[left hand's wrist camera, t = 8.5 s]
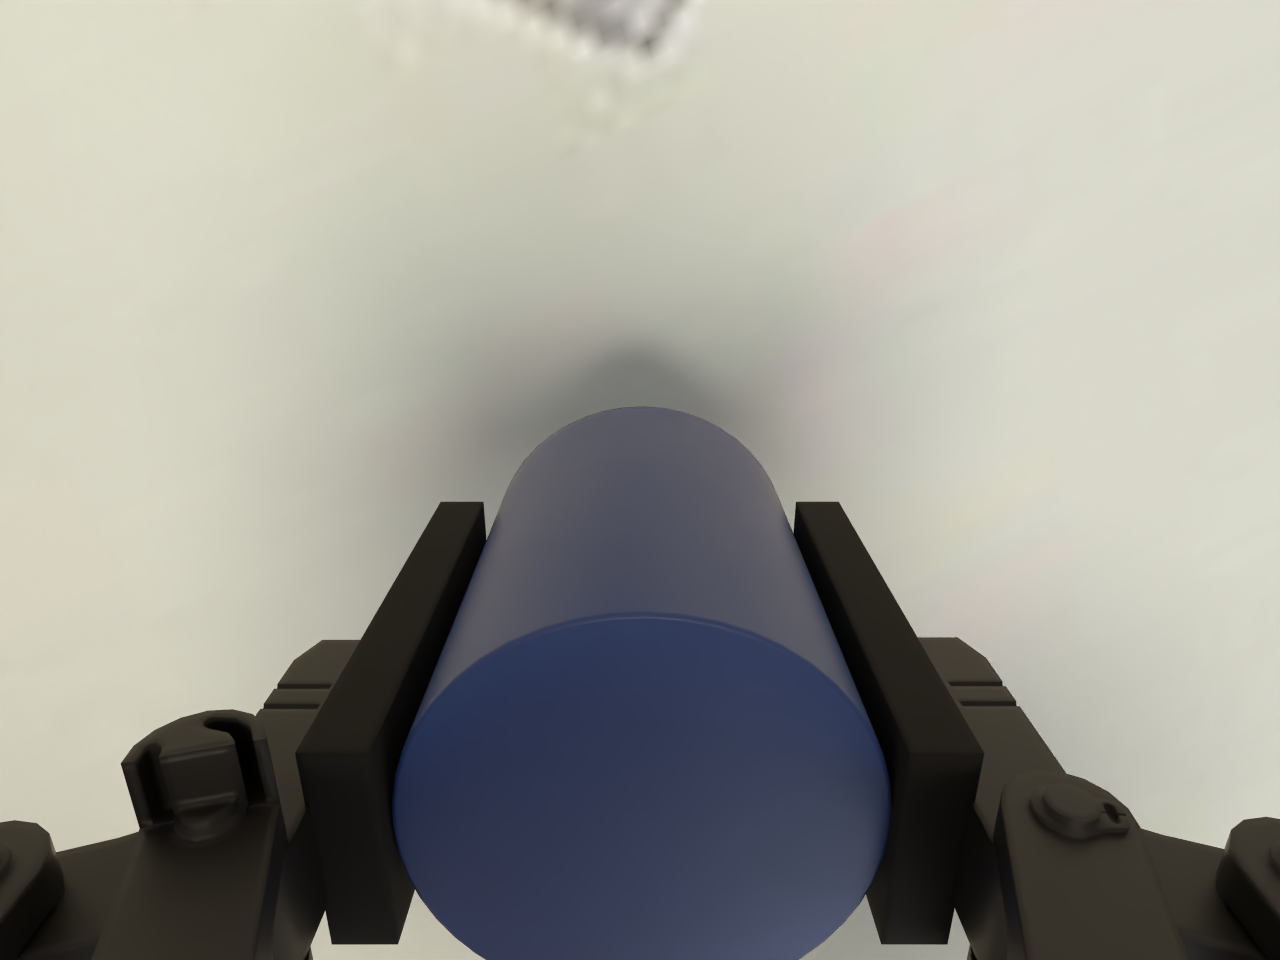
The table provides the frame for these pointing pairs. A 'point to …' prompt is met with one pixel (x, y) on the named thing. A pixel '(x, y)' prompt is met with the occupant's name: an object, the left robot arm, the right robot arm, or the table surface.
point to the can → (641, 717)
